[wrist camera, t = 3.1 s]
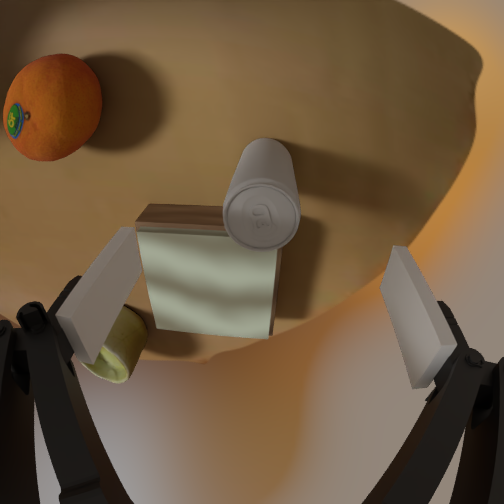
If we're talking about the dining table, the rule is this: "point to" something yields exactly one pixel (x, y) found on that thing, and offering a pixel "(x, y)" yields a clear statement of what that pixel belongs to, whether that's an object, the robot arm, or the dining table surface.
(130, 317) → the mug
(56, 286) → the dining table surface
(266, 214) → the beverage can
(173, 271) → the podium
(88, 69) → the fruit
